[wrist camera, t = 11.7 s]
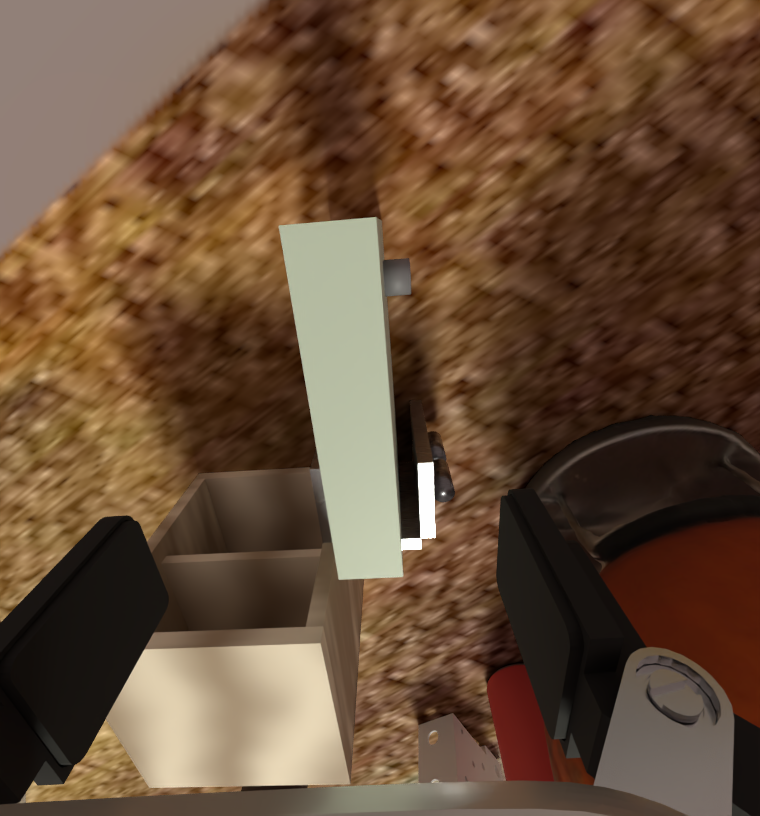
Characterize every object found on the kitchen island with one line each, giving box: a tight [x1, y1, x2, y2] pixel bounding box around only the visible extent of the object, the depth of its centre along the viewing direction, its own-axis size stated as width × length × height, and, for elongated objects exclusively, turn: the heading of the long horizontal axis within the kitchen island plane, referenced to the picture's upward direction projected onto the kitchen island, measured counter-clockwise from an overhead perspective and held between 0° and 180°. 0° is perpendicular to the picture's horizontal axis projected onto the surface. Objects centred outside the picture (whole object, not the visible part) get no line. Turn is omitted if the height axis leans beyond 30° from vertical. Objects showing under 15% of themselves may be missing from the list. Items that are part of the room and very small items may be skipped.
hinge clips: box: [310, 400, 455, 550], centre depth 25 cm, size 8×6×8 cm
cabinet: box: [106, 467, 364, 788], centre depth 26 cm, size 12×12×14 cm
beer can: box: [487, 663, 554, 782], centre depth 35 cm, size 7×7×12 cm
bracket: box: [419, 713, 503, 783], centre depth 41 cm, size 11×4×10 cm, turn 34°
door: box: [279, 217, 411, 580], centre depth 21 cm, size 15×4×12 cm, turn 5°
